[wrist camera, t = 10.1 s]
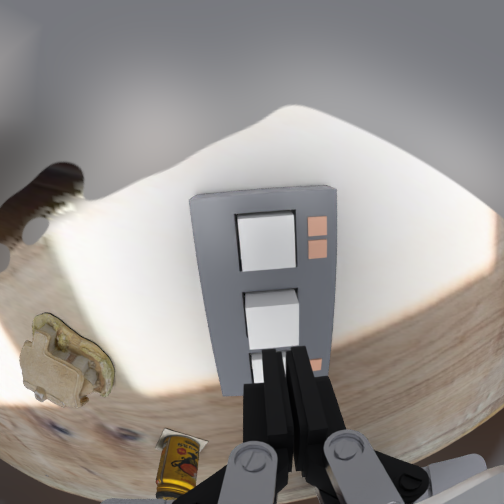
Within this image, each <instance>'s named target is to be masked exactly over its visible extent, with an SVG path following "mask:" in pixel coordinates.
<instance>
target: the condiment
mask: <svg viewBox="0 0 504 504" xmlns="http://www.w3.org/2000/svg"><path fill="white" fill-rule="evenodd" d="M207 443H208V441H204V440H201V439H198V438H195V437H191V436H188V435H185V434H181V433H178V432H174V431H171V430H168V429H164V431H163V433H162V435H161V437H160V439H159V442H158V444H157V446H156V448H155V449H157V450H161V451H162V454H161V459H160V463H159V468H158V473H157V477H156V484H157V486H158V487H157V492H156V498H157V499H164V500H176V499H177V498H178V497H180V496H181V495H183V494H185V493H186V492H188V491H189V490H191V489H193V488H194V487H196V477H197V470H198V460H199V453H200V451H201V450H202V449H203V448H204V446H205V445H206V444H207Z"/></svg>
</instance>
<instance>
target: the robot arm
mask: <svg viewBox="0 0 504 504" xmlns="http://www.w3.org/2000/svg"><path fill="white" fill-rule="evenodd" d="M262 365H263V379H264V383H249V384H244V386H243V443H242V444H240V445H238V446H236V447H235V448H234V449H233V450H232V452H231V454H230V456H229V460H228V464H227V465H226V466H224V467H223V468H222V469H220V470H219V471H218V472H216V473H215V474H213V475H212V476H210V477H209V478H208V479H206V480H205V481H203V482H202V483H200V484H199V485H197V486H196V487H194V488H193V489H191V490H189V491H188V492H186V493H185V494H183V495H181V496H180V497H178V498H177V499H176V500H164V499H116V498H112V499H107V500H105V501H103V502H102V503H101V504H277V497H278V492H279V491H281V490H282V489H283V488H284V487H285V486H286V485H287V484H288V472H292V460H293V455H294V462H295V469H296V471H301V472H302V477H305V479H306V482H307V483H309V484H311V485H313V486H314V488H315V491H316V494H317V497H318V499H319V502H320V504H504V465H501V466H497V467H494V468H491V469H488V470H487V467H486V463H485V461H484V459H483V458H482V457H481V456H479V455H477V454H469V455H466V456H462V457H459V458H455V459H451V460H447V461H443V462H439V463H434V464H429V465H428V466H427V467H423V468H421V467H419V466H416V465H413V464H410V463H407V462H404V461H402V460H399V459H396V458H393V457H391V456H388V455H386V454H383V453H380V452H378V451H375V450H373V448H372V446H371V445H370V443H369V441H368V439H367V438H366V437H365V436H364V435H363V434H361V433H360V432H358V431H354V430H346V427H345V424H344V421H343V418H342V415H341V412H340V409H339V406H338V403H337V400H336V397H335V394H334V391H333V388H332V385H331V382H330V379H329V377H328V376H320V377H314V374H313V370H312V367H311V363H310V360H309V356H308V353H307V349H306V346H296V347H291V351H286V375H285V369H284V363H283V357H282V352H276V349H262Z"/></svg>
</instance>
